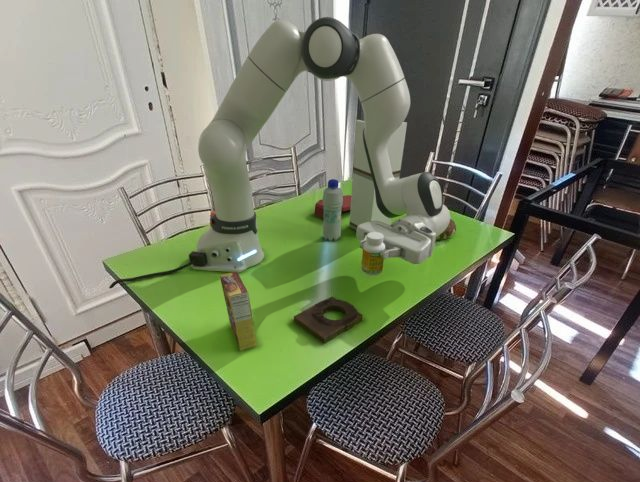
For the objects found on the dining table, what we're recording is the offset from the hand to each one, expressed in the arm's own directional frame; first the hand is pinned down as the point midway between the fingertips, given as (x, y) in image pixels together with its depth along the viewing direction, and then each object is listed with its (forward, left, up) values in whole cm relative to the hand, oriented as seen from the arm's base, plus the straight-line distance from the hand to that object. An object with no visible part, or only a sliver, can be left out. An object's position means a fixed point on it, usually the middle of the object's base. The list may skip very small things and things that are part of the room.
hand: (371, 250), depth 89 cm
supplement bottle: (+1, +1, -6) cm, 6 cm away
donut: (+31, +40, -15) cm, 53 cm away
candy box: (-32, -13, -15) cm, 37 cm away
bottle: (-6, +38, -15) cm, 41 cm away
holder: (-11, -9, -15) cm, 20 cm away
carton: (+1, +63, -15) cm, 65 cm away
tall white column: (+9, +45, -15) cm, 48 cm away
